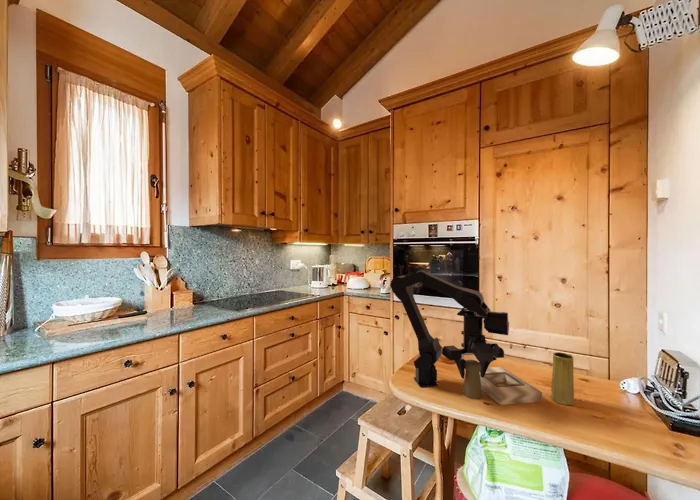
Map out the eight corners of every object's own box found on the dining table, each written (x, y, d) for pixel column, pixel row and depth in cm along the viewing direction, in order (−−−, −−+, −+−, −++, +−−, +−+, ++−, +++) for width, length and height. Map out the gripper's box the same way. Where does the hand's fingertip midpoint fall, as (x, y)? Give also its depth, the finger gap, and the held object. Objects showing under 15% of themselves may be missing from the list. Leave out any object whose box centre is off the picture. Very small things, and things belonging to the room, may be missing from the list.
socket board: (500, 404, 90) (500, 394, 90) (467, 376, 109) (467, 368, 109) (541, 401, 92) (541, 391, 92) (502, 374, 111) (502, 365, 111)
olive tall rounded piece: (485, 399, 93) (486, 364, 93) (466, 399, 93) (466, 364, 93) (477, 389, 99) (478, 357, 99) (459, 389, 99) (460, 357, 99)
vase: (570, 397, 95) (571, 353, 94) (578, 407, 89) (578, 360, 88) (548, 394, 97) (548, 350, 96) (554, 403, 91) (554, 357, 90)
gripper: (458, 339, 87) (457, 391, 87) (516, 336, 89) (515, 387, 90) (441, 328, 98) (441, 375, 98) (493, 326, 100) (493, 371, 101)
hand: (472, 377), depth 96 cm, fingers open, 6 cm apart
